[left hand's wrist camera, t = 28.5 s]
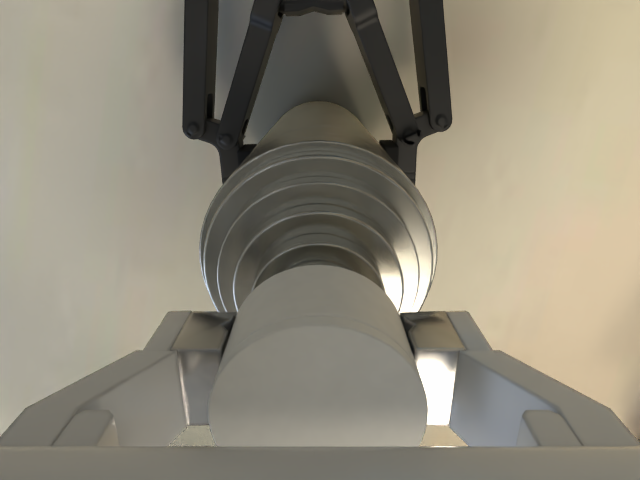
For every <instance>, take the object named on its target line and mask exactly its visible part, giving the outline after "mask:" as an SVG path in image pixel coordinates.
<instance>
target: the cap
mask: <svg viewBox="0 0 640 480" xmlns="http://www.w3.org/2000/svg"><path fill="white" fill-rule="evenodd" d="M208 420H209V426H210V430H211V433H212V436H213V439H214V442H215V443H216V445H217V446H419V445H420V444H421V441H422V439H423V436H424V433H425V430H426V425H427V421H428V402H427V395H426V392H425V388H424V385H423V382H422V379H421V376H420V373H419V370H418V367H417V364H416V361H415V359H414V356H413V353H412V350H411V347H410V344H409V341H408V338H407V335H406V332H405V329H404V326H403V323H402V320H401V317H400V315H399V313H398V310H397V308H396V306H395V305H394V303H393V302H392V300H391V299H390V297H389V296H388V295H387V294H386V293H385V292H384V291H383V290H382V289H381V288H380V287H379V286H378V285H376V284H375V283H374V282H372V281H371V280H369V279H368V278H366V277H364V276H362V275H360V274H358V273H356V272H354V271H351V270H348V269H345V268H342V267H335V266H329V265H307V266H301V267H295V268H292V269H289V270H285V271H283V272H280V273H278V274H276V275H274V276H272V277H270V278H269V279H267V280H265V281H264V282H262V283H261V284H260V285H259V286H257V287H256V288H255V289H254V290H253V291H252V292H251V293H250V294H249V295H248V296H247V298H246V299H245V301H244V302H243V303H242V305H241V307H240V309H239V311H238V313H237V315H236V318H235V321H234V324H233V327H232V330H231V333H230V336H229V339H228V342H227V345H226V348H225V351H224V354H223V357H222V360H221V363H220V366H219V368H218V371H217V374H216V377H215V380H214V383H213V386H212V389H211V392H210V397H209V403H208Z"/></svg>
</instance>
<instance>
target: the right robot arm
mask: <svg viewBox="0 0 640 480" xmlns="http://www.w3.org/2000/svg"><path fill="white" fill-rule="evenodd" d="M409 5H410V14H411V24H412V34H413V43H414V53H415V63H416V72H417V82H418V92H419V101H420V111H421V112H419V113H417V114H414V115H413V112H412V109H411V107H410V104H409V101H408V98H407V96H406V93H405V90H404V88H403V85H402V82H401V79H400V77H399V74H398V71H397V68H396V66H395V63H394V60H393V57H392V55H391V52H390V49H389V46H388V44H387V41H386V38H385V36H384V33H383V30H382V27H381V25H380V22H379V19H378V14H377V10H376V6H375V4H374V1H373V0H254V4H253V7H252V11H251V15H250V23H249V27H248V30H247V33H246V37H245V40H244V44H243V47H242V50H241V54H240V57H239V61H238V64H237V67H236V71H235V74H234V78H233V81H232V84H231V88H230V91H229V94H228V98H227V101H226V105H225V108H224V111H223V115H222V118H221V121H220V120H217V119H214V105H215V81H216V57H217V33H218V0H185V10H184V68H183V126H182V127H183V132H184V134H185V135H186V136H187V137H188V138H190V139H199V140H202V141H205V142H208V143H210V144H212V145H214V146H215V147H216V148H217V150H218V152H219V155H220V164H221V173H222V182H223V184H224V183H225V182H226V180H227V179H228V178H229V177H230V176H231V175H232V173H233V172H234V171H235V170H236V169H237V168H238V166H239V165H240V164H241V163H242V162H243V161H244V160H245V158H246V157H247V156H248V155H249V154H250V153H251V151H252V150H253V149H254V148H255V147H256V146H257V144H245V145H243V139H244V138H245V136H244V135H245V132H246V128H247V125H248V122H249V119H250V116H251V113H252V110H253V106H254V103H255V100H256V97H257V94H258V91H259V87H260V84H261V81H262V78H263V75H264V72H265V69H266V65H267V62H268V59H269V56H270V53H271V50H272V46H273V43H274V40H275V37H276V34H277V32H278V30H279V27H280V24H281V21H282V18H283V15H284V14H285V15H286V16H301V15H304V14H307V13H310V12H313V11H315V12H319V13H323V14H327V15H339V14H342V12H345V15H346V17H347V20H348V23H349V25H350V27H351V29H352V31H353V33H354V36H355V38H356V41H357V44H358V46H359V49H360V51H361V54H362V56H363V59H364V62H365V64H366V67H367V69H368V72H369V74H370V77H371V80H372V82H373V85H374V87H375V90H376V93H377V95H378V98H379V100H380V103H381V105H382V108H383V111H384V113H385V116H386V118H387V121H388V124H389V126H390V129H391V131H392V134H393V139H392V140H379V144H380V145H381V147H382V148H383V149H384V150H385V151H386V152H387V154H388V155H389V156H390V157H391V158H392V159H393V161H394V162H395V163H396V164H397V165H398V166H399V168H400V169H401V170H402V171H403V172H404V174H405V175H406V176H407V177H408V178H409V179H410V181H411V182H412V183H413V184H414V186H415V176H416V173H415V172H416V154H417V146H418V143H419V142H420V141H421V140H422V139H423V138H424V137H426V136H428V135H431V134H433V133H436V132H443V131H446V130H447V129H448V128H449V127H450V126H451V124H452V110H451V98H450V85H449V73H448V60H447V48H446V35H445V22H444V10H443V0H409Z"/></svg>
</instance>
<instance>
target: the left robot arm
mask: <svg viewBox="0 0 640 480" xmlns="http://www.w3.org/2000/svg"><path fill="white" fill-rule="evenodd" d="M236 315H237V313H236V312H210V311H193V312H192V311H170V312H168V313H167V314H166V316H165V317H164V319H163V320H162V322H161V323H160V325H159V326H158V328H157V330H156V331H155V333H154V334H153V336H152V337H151V339H150V340H149V342H148V343H147V345H146V347H145V348H144V350H136V351H134V352H132V353H130V354H128V355H126V356H125V357H123V358H121V359H119V360H117V361H115V362H113V363H111V364H109V365H107V366H105V367H103V368H102V369H100V370H98V371H96V372H94V373H92V374H90V375H88V376H86V377H84V378H82V379H80V380H79V381H77V382H75V383H73V384H71V385H69V386H67V387H65V388H63V389H61V390H59V391H57V392H56V393H54V394H52V395H50V396H48V397H46V398H44V399H42V400H40V401H38V402H36V403H34V404H33V405H31V406H29V407H27V408H25V409H24V411H23V412H22V413H21V414H20V415H19V416H18V417H17V418H16V420H15V421H14V422H13V423H12V424H11V425H10V426H9V427H8V429H7V430H6V431H5V432H4V433H3V434H2V435H1V436H0V480H640V442H639V441H638V440H637V439H636V438H635V437H634V435H633V434H632V433H631V432H630V431H629V430H628V429H627V427H626V426H625V425H624V424H623V423H622V422H621V420H620V419H619V418H618V417H617V416H616V415H615V414H614V412H613V411H612V410H611V409H610V408H608V407H606V406H604V405H602V404H600V403H598V402H597V401H595V400H593V399H591V398H589V397H587V396H585V395H583V394H581V393H580V392H578V391H576V390H574V389H572V388H570V387H568V386H566V385H564V384H563V383H561V382H559V381H557V380H555V379H553V378H551V377H549V376H547V375H545V374H544V373H542V372H540V371H538V370H536V369H534V368H532V367H530V366H528V365H527V364H525V363H523V362H521V361H519V360H517V359H515V358H513V357H511V356H510V355H508V354H506V353H504V352H502V351H500V350H493V349H492V348H491V346H490V345H489V343H488V342H487V340H486V339H485V337H484V335H483V334H482V332H481V331H480V329H479V328H478V326H477V325H476V323H475V321H474V320H473V318H472V317H471V315H470V314H469V312H467V311H433V312H401V313H400V314H399V315H400V317H401V320H402V323H403V326H404V329H405V332H406V335H407V338H408V341H409V344H410V347H411V350H412V353H413V356H414V359H415V361H416V364H417V367H418V370H419V373H420V376H421V379H422V382H423V385H424V388H425V392H426V395H427V402H428V421H427V425H443V426H450V428H451V429H452V430H453V431H454V432H455V433H456V434H457V435H458V436H459V437H460V438H461V439H462V440H463V441H464V442H465V443H466V444H467V445H468V446H168V445H169V444H170V443H171V442H172V441H173V440H174V439H176V438H177V437H178V436H179V435H180V434H181V433H182V432H183V431H184V430H185V429H186V428H187V426H193V425H209V420H208V403H209V397H210V392H211V389H212V386H213V383H214V380H215V377H216V374H217V371H218V368H219V366H220V363H221V360H222V357H223V354H224V351H225V348H226V345H227V342H228V339H229V336H230V333H231V330H232V327H233V324H234V321H235V318H236Z"/></svg>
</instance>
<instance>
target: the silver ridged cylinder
mask: <svg viewBox="0 0 640 480" xmlns="http://www.w3.org/2000/svg"><path fill="white" fill-rule="evenodd" d="M199 249H200V264H201V270H202V275H203V278H204V281H205V285H206V288H207V290H208V292H209V294H210V297H211V299H212V301H213V303H214V306H215V308H216V310H217V311H218V312H236V313H238V311H239V309H240V307H241V305H242V303H243V302H244V301H245V299H246V298H247V296H248V295H249V294H250V293H251V292H252V291H253V290H254V289H255V288H256V287H257V286H259V285H260V284H261V283H262V282H264V281H265V280H267V279H269V278H270V277H272V276H274V275H276V274H278V273H280V272H283V271H285V270H289V269H292V268H295V267H301V266H307V265H329V266H335V267H342V268H345V269H348V270H351V271H354V272H356V273H358V274H360V275H362V276H364V277H366V278H368V279H369V280H371V281H372V282H374V283H375V284H376V285H378V286H379V287H380V288H381V289H382V290H383V291H384V292H385V293H386V294H387V295H388V296H389V297H390V299H391V300H392V302H393V303H394V305H395V306H396V308H397V310H398V313H399V314H400V313H401V312H419V311H420V309H421V307H422V305H423V303H424V301H425V299H426V297H427V294H428V292H429V290H430V287H431V284H432V281H433V278H434V275H435V269H436V264H437V237H436V230H435V226H434V223H433V219H432V216H431V213H430V211H429V209H428V206H427V204H426V202H425V200H424V199H423V197H422V196H421V194H420V192H419V191H418V189H417V188H416V187H415V186H414V184H413V183H412V182H411V181H410V179H409V178H408V177H407V176H406V175H405V174H404V172H403V171H402V170H401V169H400V168H399V166H398V165H397V164H396V163H395V162H394V161H393V159H392V158H391V157H390V156H389V155H388V154H387V152H386V151H385V150H384V149H383V148H382V147H381V145H380V144H379V143H378V142H377V141H376V140H375V138H374V137H373V136H372V135H371V134H370V133H369V131H368V130H367V129H366V128H365V127H364V126H363V124H362V123H361V122H360V121H359V120H358V119H357V117H356V116H355V115H353V114H352V113H351V112H350V111H348V110H347V109H346V108H344V107H342V106H340V105H337V104H334V103H331V102H326V101H311V102H307V103H303V104H300V105H298V106H296V107H294V108H292V109H290V110H289V111H288V112H286V113H285V114H284V115H283V116H282V117H281V118H280V119H279V120H278V121H277V123H276V124H275V125H274V126H273V127H272V128H271V129H270V131H269V132H268V133H267V134H266V135H265V136H264V138H263V139H262V140H261V141H260V142H259V143H258V145H257V146H256V147H255V148H254V149H253V150H252V151H251V153H250V154H249V155H248V156H247V157H246V158H245V160H244V161H243V162H242V163H241V164H240V165H239V166H238V168H237V169H236V170H235V171H234V172H233V173H232V175H231V176H230V177H229V178H228V179H227V180H226V182H225V183H224V184H223V185H222V187H221V188H220V189H219V190H218V192H217V194H216V195H215V197H214V199H213V200H212V202H211V204H210V206H209V208H208V211H207V213H206V216H205V218H204V222H203V226H202V230H201V236H200V245H199Z"/></svg>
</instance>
